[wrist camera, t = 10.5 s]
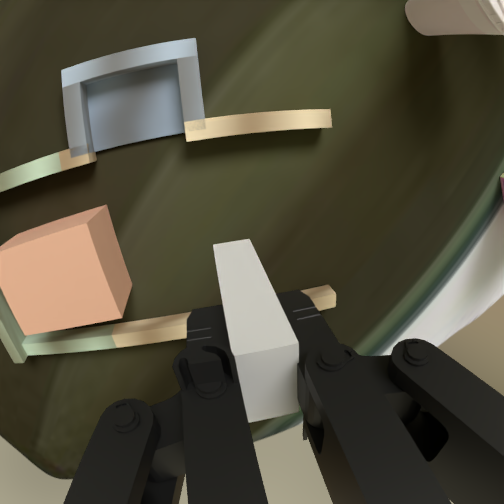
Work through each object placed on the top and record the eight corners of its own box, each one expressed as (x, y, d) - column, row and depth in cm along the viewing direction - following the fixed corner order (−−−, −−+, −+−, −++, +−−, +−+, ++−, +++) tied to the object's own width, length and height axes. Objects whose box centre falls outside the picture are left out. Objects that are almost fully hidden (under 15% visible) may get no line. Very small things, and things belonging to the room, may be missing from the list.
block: (18, 233, 17) (-13, 256, 13) (107, 204, 18) (86, 223, 14) (46, 303, 20) (24, 335, 16) (132, 283, 21) (121, 318, 17)
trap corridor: (312, 40, 17) (327, 30, 14) (326, 345, 26) (337, 362, 24) (-42, 127, 13) (-60, 129, 11) (49, 386, 22) (42, 404, 20)
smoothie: (387, 24, 17) (532, -16, 4) (396, -26, 15) (515, -72, 2) (442, 62, 18) (577, 60, 6) (448, 13, 16) (565, -5, 4)
